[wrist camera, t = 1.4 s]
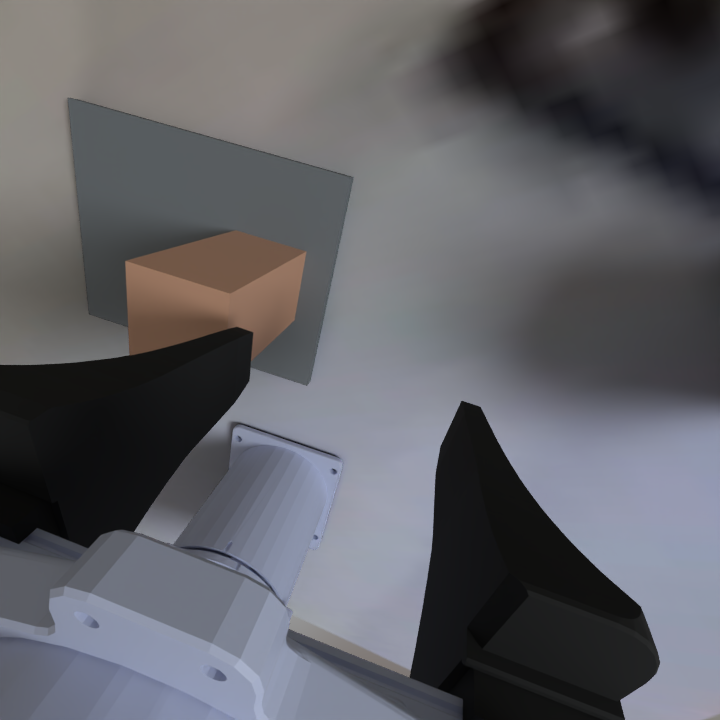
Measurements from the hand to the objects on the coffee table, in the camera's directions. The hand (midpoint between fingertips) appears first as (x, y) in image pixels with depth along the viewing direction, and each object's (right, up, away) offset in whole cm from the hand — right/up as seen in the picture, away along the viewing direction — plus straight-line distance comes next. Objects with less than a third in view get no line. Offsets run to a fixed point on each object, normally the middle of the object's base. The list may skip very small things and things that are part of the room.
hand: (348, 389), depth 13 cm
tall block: (-5, +6, +9) cm, 11 cm away
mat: (-8, +7, +9) cm, 15 cm away
